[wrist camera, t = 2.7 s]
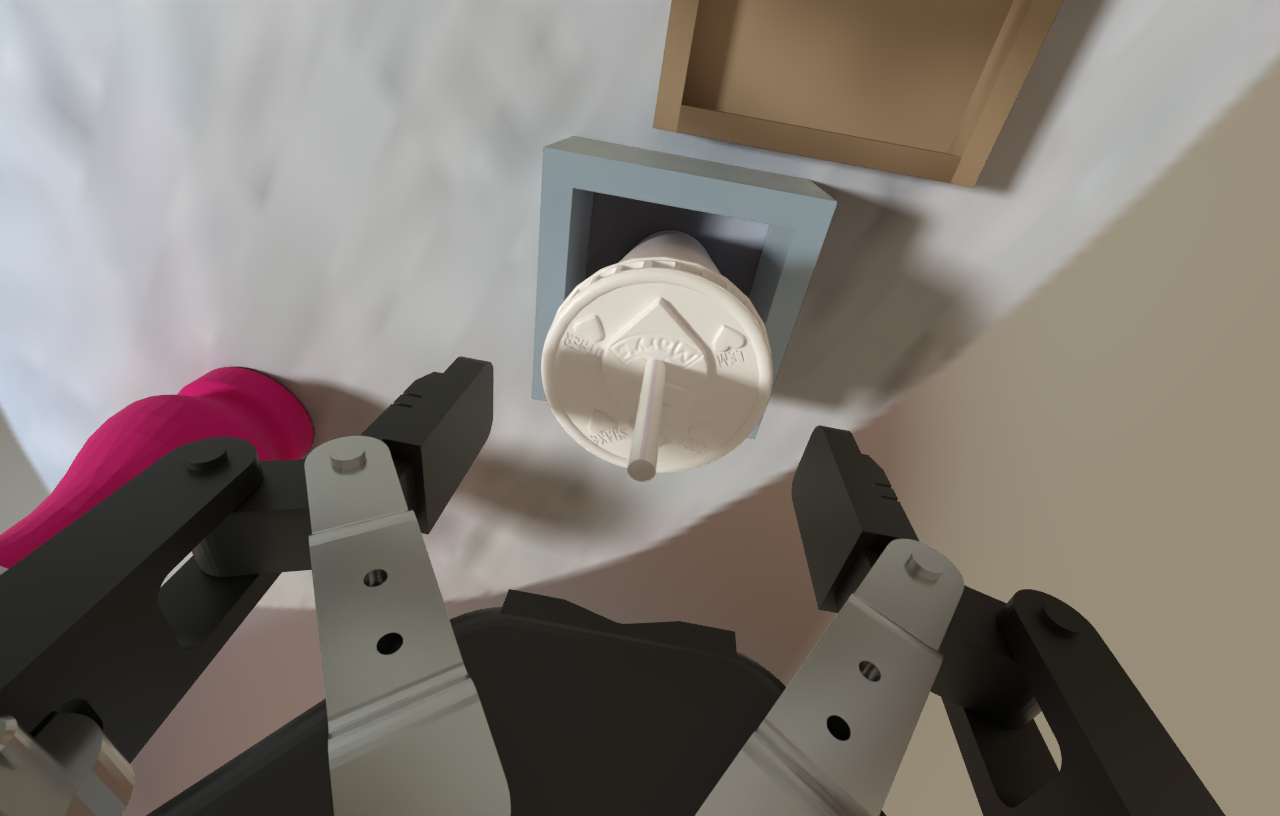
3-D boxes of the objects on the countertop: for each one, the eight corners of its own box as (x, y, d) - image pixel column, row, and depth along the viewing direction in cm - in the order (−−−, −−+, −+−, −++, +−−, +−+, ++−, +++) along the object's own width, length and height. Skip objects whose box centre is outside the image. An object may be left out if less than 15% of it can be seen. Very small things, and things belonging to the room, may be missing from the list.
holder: (573, 136, 19) (543, 147, 15) (809, 180, 19) (837, 201, 16) (557, 350, 24) (531, 398, 20) (745, 384, 24) (754, 439, 20)
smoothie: (756, 200, 20) (848, 360, 8) (732, 347, 23) (773, 611, 12) (595, 190, 20) (457, 329, 8) (595, 336, 24) (498, 582, 12)
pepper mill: (247, 335, 25) (-639, 820, 8) (350, 441, 28) (-147, 949, 12) (164, 388, 28) (-662, 852, 11) (268, 481, 31) (-246, 952, 14)
